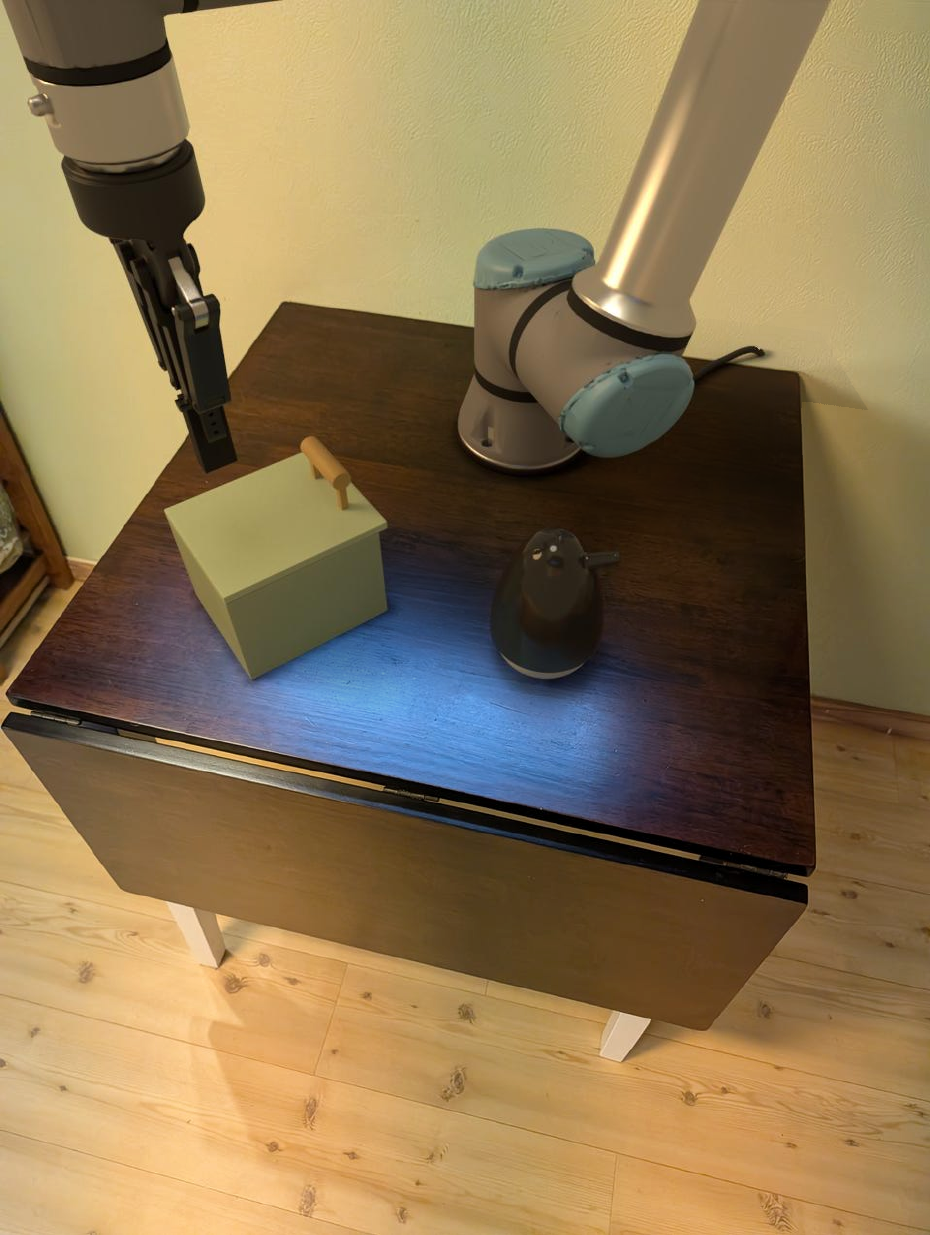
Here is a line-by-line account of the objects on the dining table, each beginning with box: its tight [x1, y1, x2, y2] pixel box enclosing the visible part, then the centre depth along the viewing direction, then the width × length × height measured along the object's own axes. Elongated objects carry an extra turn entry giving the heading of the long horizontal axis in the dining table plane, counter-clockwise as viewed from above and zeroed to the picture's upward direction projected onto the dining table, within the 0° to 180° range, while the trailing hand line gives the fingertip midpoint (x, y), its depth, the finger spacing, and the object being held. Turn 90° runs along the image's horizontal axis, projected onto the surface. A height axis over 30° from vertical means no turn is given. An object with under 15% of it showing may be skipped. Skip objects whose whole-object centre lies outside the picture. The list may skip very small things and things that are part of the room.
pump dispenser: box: [489, 526, 621, 680], centre depth 73 cm, size 10×10×15 cm
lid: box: [163, 435, 388, 604], centre depth 73 cm, size 16×13×5 cm
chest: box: [166, 517, 388, 681], centre depth 79 cm, size 15×13×11 cm
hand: (218, 461), depth 67 cm, fingers closed
